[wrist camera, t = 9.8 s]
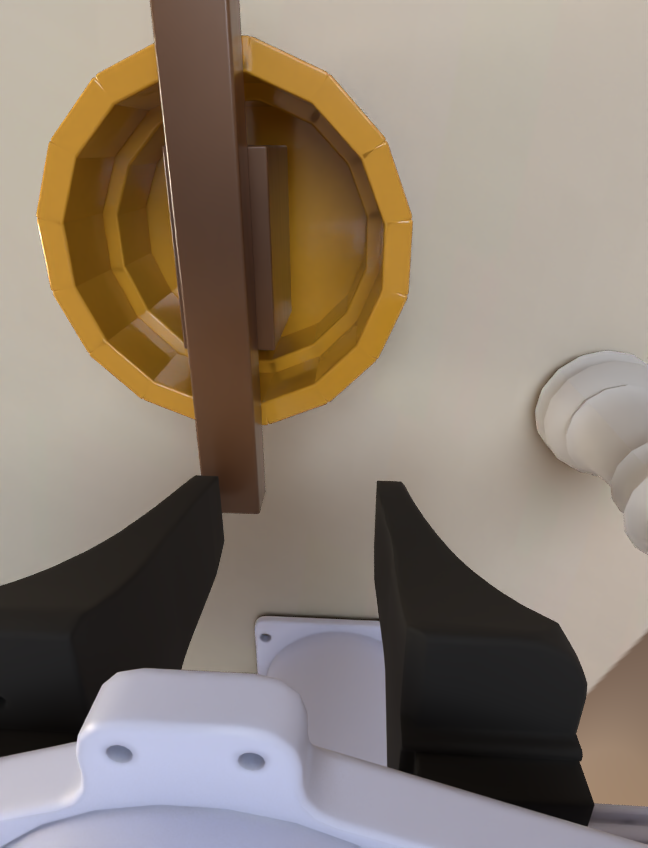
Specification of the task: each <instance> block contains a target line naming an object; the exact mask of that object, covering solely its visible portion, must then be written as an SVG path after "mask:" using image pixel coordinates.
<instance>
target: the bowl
mask: <svg viewBox="0 0 648 848" xmlns="http://www.w3.org/2000/svg"><path fill="white" fill-rule="evenodd" d="M241 40H242V59H243V78H244V96H245V115H246V134H247V145H286V146H287V160H288V197H289V235H290V273H291V314H290V316H289V318H288V321H287V323H286V325H285V328H284V330H283V332H282V335H281V337H280V339H279V341H278V344H277V346H276V348H275V350H258V359H259V378H260V396H261V415H262V425H268V423H269V424H272V423H275V422H277V421H280V420H283V419H286V418H289V417H291V416H294V415H297V414H300V413H303V412H305V411H308V410H311V409H314V408H317V407H319V406H322V405H325V404H327V403H328V402H331V401H332V400H333V399H334V398H335V397H336V396H337V395H339V394H340V393H341V392H342V391H343V390H344V389H345V388H346V387H347V386H349V385H350V384H351V383H352V382H353V381H354V380H355V379H356V378H358V377H359V376H360V375H361V374H362V373H363V372H364V371H365V370H366V369H368V368H369V367H370V366H371V365H372V364H373V363H374V362H375V361H376V359H378V358H379V356H380V354H381V352H382V350H383V348H384V346H385V344H386V342H387V339H388V337H389V335H390V333H391V331H392V329H393V327H394V325H395V323H396V321H397V319H398V317H399V315H400V313H401V310H402V308H403V306H404V304H405V302H406V300H407V295H408V293H409V278H410V262H411V245H412V229H413V221H412V214H411V211H410V208H409V205H408V202H407V199H406V196H405V193H404V190H403V187H402V184H401V181H400V178H399V175H398V172H397V169H396V166H395V163H394V160H393V157H392V154H391V151H390V148H389V145H388V143H387V141H385V140H386V139H385V137H384V136H383V135H382V133H381V132H380V131H379V130H378V129H377V128H376V126H375V125H374V124H373V123H372V122H371V121H370V119H369V118H368V117H367V116H366V115H365V114H364V113H363V111H362V110H361V109H360V108H359V107H358V106H357V104H356V103H355V102H354V101H353V100H352V99H351V97H350V96H349V95H348V94H347V93H346V92H345V91H344V89H343V88H342V87H341V86H340V85H339V84H338V82H337V81H336V80H335V79H334V78H333V77H332V75H330V74H328V73H327V72H326V71H324V70H322V69H320V68H318V67H316V66H314V65H312V64H309V63H307V62H305V61H303V60H301V59H299V58H297V57H295V56H293V55H290V54H288V53H286V52H284V51H282V50H280V49H278V48H276V47H274V46H271V45H269V44H267V43H265V42H263V41H261V40H259V39H257V38H255V37H249V36H247V35H241ZM164 145H165V136H164V127H163V118H162V109H161V99H160V90H159V81H158V72H157V62H156V53H155V44H154V43H153V44H151V45H149V46H147V47H145V48H144V49H142V50H140V51H138V52H136V53H134V54H133V55H131V56H129V57H127V58H125V59H123V60H122V61H120V62H118V63H116V64H114V65H112V66H110V67H109V68H107V69H105V70H103V71H101V72H99V73H98V74H97V75H96V77H94V78H92V80H91V81H90V83H89V84H88V85H87V87H86V88H85V90H84V91H83V93H82V94H81V96H80V97H79V99H78V100H77V102H76V103H75V104H74V106H73V107H72V109H71V110H70V112H69V113H68V115H67V116H66V118H65V119H64V120H63V122H62V123H61V125H60V126H59V128H58V129H57V131H56V132H55V134H54V135H53V136H52V138H51V141H50V142H49V145H48V150H47V156H46V162H45V167H44V173H43V179H42V184H41V190H40V196H39V202H38V207H37V213H36V217H37V224H38V228H39V233H40V238H41V243H42V248H43V253H44V258H45V263H46V267H47V272H48V277H49V282H50V287H51V290H52V291H53V295H54V297H55V298H56V300H57V302H58V303H59V305H60V307H61V308H62V310H63V312H64V313H65V315H66V317H67V318H68V320H69V322H70V323H71V325H72V327H73V328H74V330H75V331H76V333H77V335H78V336H79V338H80V340H81V341H82V343H83V345H84V346H85V348H86V350H87V351H88V352H89V353H90V356H91V357H92V358H94V359H95V360H96V361H97V362H98V363H99V364H101V365H102V366H103V367H104V368H105V369H107V370H108V371H109V372H110V373H111V374H113V375H114V376H115V377H116V378H117V379H118V380H120V381H121V382H122V383H123V384H124V385H126V386H127V387H128V388H129V389H130V390H131V391H133V392H134V393H135V394H136V395H137V396H139V397H140V398H141V399H143V398H144V400H146V401H148V402H151V403H154V404H156V405H159V406H161V407H164V408H166V409H169V410H172V411H174V412H177V413H179V414H182V415H184V416H187V417H190V418H192V419H195V414H194V404H193V395H192V386H191V377H190V367H189V358H188V349H185V347H184V340H183V331H182V322H181V313H180V304H179V295H178V286H177V277H176V268H175V259H174V250H173V241H172V232H171V222H170V213H169V204H168V195H167V186H166V177H165V168H164V159H163V150H162V147H163V146H164Z"/></svg>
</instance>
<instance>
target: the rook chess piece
mask: <svg viewBox="0 0 648 848" xmlns="http://www.w3.org/2000/svg"><path fill="white" fill-rule="evenodd" d="M535 415H536V424H537V432H538V433H539V435H540V436H541V438H542V439H543V441H544V442H545V444H546V445H547V446H548V448H549V449H551V450H552V451H553V453H554V454H555V456H556V457H557V459H559V460H561V461H562V462H564V463H566V464H567V465H569V466H571V467H573V468H574V469H576V470H578V471H579V472H582V473H589V474H591V475H595V476H600V477H601V478H602V479H603V480H604V481H605V482H606V483H607V484H608V485H610V486H611V495H612V499H613V501H614V502H615V504H616V505H617V507H618V509H619V510H620V511H621V512H623V513H624V530H625V533H626V534H627V536H628V537H629V539H630V541H631V542H632V544H633V545H634V547H635V548H637V549H639V550H640V551H642V552H644V553H646V554H647V555H648V364H647V363H645V362H644V361H642V360H641V359H639V358H638V357H636V356H634V355H633V354H630V353H623V352H616V351H609V350H605V351H601V352H596V353H592V354H587V355H582V356H580V357H578V358H576V359H575V360H573V361H571V362H570V363H568V364H567V365H565V366H563V367H562V368H560V369H558V370H557V372H556V373H555V374H554V375H553V376H552V378H551V379H550V380H549V381H548V382H547V384H546V385H545V386H544V387H543V388H542V391H541V394H540V397H539V400H538V403H537V406H536V409H535Z"/></svg>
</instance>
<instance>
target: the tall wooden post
mask: <svg viewBox="0 0 648 848" xmlns="http://www.w3.org/2000/svg"><path fill="white" fill-rule="evenodd" d="M150 7H151V16H152V25H153V35H154V44H155V53H156V62H157V72H158V81H159V90H160V99H161V109H162V118H163V127H164V136H165V145H164V146H163V147H162V150H163V159H164V168H165V177H166V186H167V195H168V204H169V213H170V222H171V232H172V241H173V250H174V259H175V268H176V277H177V286H178V295H179V304H180V313H181V322H182V331H183V340H184V347H185V349H188V358H189V367H190V377H191V386H192V395H193V404H194V414H195V423H196V432H197V441H198V451H199V460H200V469H201V476H218V477H219V488H220V498H221V509H222V513H243V514H259V513H260V510H261V506H262V503H263V499H264V496H265V492H266V490H265V471H264V452H263V434H262V415H261V396H260V378H259V359H258V350H275V348H276V346H277V344H278V341H279V339H280V337H281V335H282V332H283V330H284V328H285V325H286V323H287V321H288V318H289V316H290V314H291V273H290V235H289V197H288V160H287V146H286V145H247V134H246V115H245V96H244V78H243V59H242V40H241V22H240V3H239V0H150Z"/></svg>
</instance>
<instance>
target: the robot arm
mask: <svg viewBox="0 0 648 848" xmlns="http://www.w3.org/2000/svg"><path fill="white" fill-rule="evenodd" d="M223 545H224V531H223V520H222V509H221V498H220V488H219V477H218V476H197V475H195V476H194V477H193V478H191V479H190V480H189V481H187V482H186V483H185V484H183V485H182V486H181V487H180V488H178V489H177V490H176V491H175V492H174V493H172V494H171V495H170V496H169V497H167V498H166V499H165V500H163V501H162V502H161V503H160V504H158V505H157V506H156V507H154V508H153V509H152V510H150V511H149V512H148V513H146V514H145V515H143V516H142V517H141V518H139V519H138V520H136V521H135V522H133V523H132V524H131V525H129V526H128V527H126V528H125V529H123V530H122V531H120V532H119V533H117V534H116V535H114V536H112V537H111V538H109V539H107V540H106V541H104V542H102V543H100V544H98V545H97V546H95V547H93V548H91V549H89V550H88V551H86V552H84V553H82V554H79V555H77V556H75V557H73V558H71V559H69V560H67V561H64V562H62V563H60V564H58V565H56V566H54V567H51V568H49V569H46V570H44V571H41V572H39V573H36V574H34V575H31V576H28V577H26V578H23V579H20V580H17V581H14V582H11V583H8V584H5V585H2V586H0V848H648V807H645V806H629V805H612V804H595V803H594V802H593V799H592V796H591V793H590V791H589V788H588V785H587V782H586V779H585V776H584V773H583V771H582V768H581V765H580V762H579V761H581V760H582V757H583V756H582V749H581V746H580V744H579V741H578V738H577V735H576V732H577V729H578V725H579V721H580V717H581V714H582V711H583V707H584V703H585V700H586V693H587V681H586V678H585V675H584V672H583V669H582V666H581V664H580V662H579V659H578V657H577V655H576V653H575V651H574V649H573V648H572V646H571V644H570V642H569V641H568V639H567V637H566V636H565V634H564V632H563V631H562V629H561V627H560V626H559V624H558V623H557V622H555V621H553V620H551V619H549V618H547V617H545V616H543V615H541V614H539V613H537V612H535V611H533V610H531V609H529V608H527V607H525V606H523V605H521V604H520V603H518V602H516V601H515V600H513V599H512V598H510V597H508V596H507V595H505V594H503V593H502V592H500V591H499V590H498V589H496V588H495V587H493V586H492V585H490V584H489V583H488V582H486V581H485V580H484V579H482V578H481V577H480V576H478V575H477V574H476V573H475V572H473V571H472V570H471V569H470V568H469V567H467V566H466V565H465V564H464V563H463V562H462V561H461V560H460V559H459V558H458V557H457V556H456V555H455V554H454V553H453V552H452V551H451V550H450V549H449V548H448V547H447V546H446V544H445V543H444V542H443V541H442V540H441V539H440V538H439V536H438V535H437V534H436V533H435V531H434V530H433V529H432V528H431V526H430V525H429V523H428V522H427V521H426V519H425V518H424V517H423V515H422V514H421V512H420V511H419V509H418V508H417V506H416V505H415V503H414V502H413V500H412V498H411V497H410V495H409V493H408V491H407V489H406V487H405V485H404V484H403V483H402V482H395V481H377V492H376V515H375V538H374V580H375V589H376V597H377V605H378V613H379V620H380V621H370V620H348V619H325V618H302V617H279V616H261V617H259V618H258V619H257V620H256V624H255V642H256V656H257V670H258V674H256V673H236V672H215V671H195V670H181V669H182V665H183V662H184V658H185V655H186V652H187V649H188V647H189V644H190V641H191V638H192V636H193V633H194V631H195V628H196V626H197V623H198V621H199V618H200V616H201V613H202V610H203V608H204V605H205V603H206V600H207V598H208V595H209V593H210V590H211V587H212V585H213V582H214V579H215V577H216V574H217V570H218V566H219V562H220V558H221V554H222V549H223ZM264 634H269V635H268V636H267V635H264Z"/></svg>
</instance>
